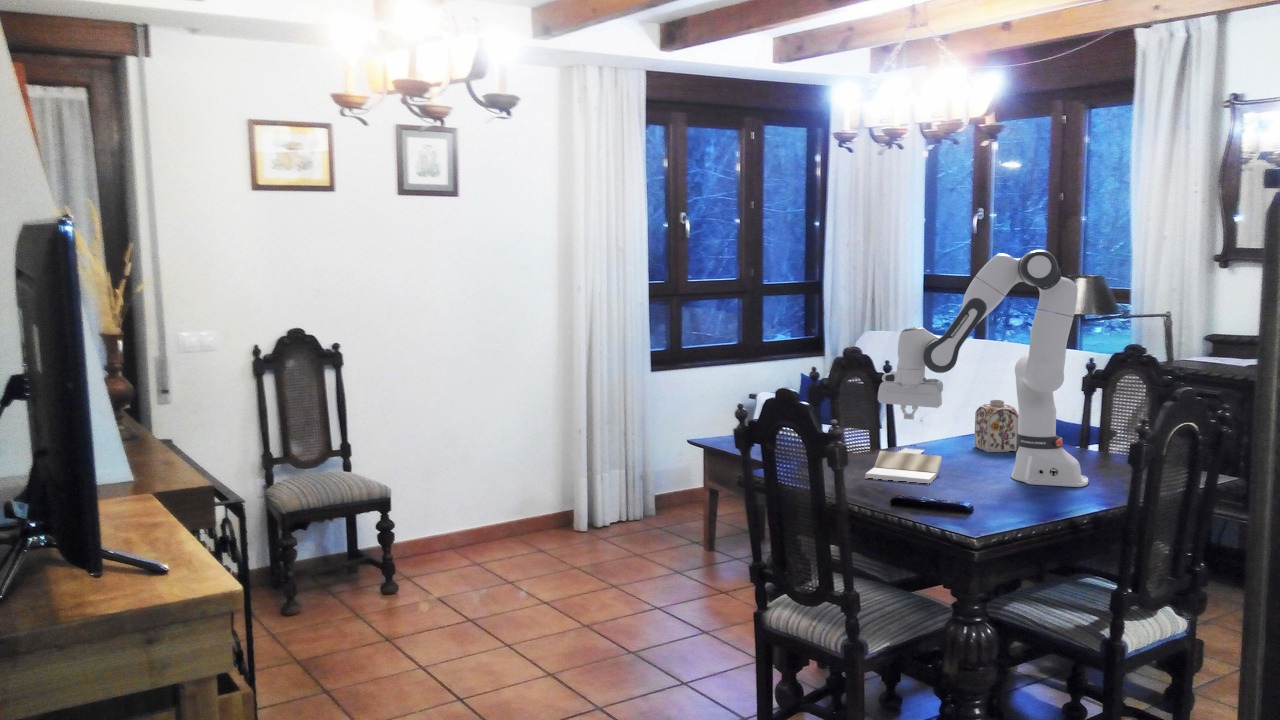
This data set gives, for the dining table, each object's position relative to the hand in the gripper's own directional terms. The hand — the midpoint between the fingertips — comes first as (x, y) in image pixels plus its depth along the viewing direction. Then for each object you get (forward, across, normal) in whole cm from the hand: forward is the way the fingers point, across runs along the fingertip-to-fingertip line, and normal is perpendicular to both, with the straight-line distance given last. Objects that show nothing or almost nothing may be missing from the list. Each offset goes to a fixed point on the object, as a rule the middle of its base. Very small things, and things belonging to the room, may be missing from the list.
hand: (908, 419), depth 336 cm
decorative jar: (+17, -20, -52) cm, 58 cm away
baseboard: (+18, +7, -21) cm, 28 cm away
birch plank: (+15, -1, +1) cm, 15 cm away
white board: (+17, -1, +11) cm, 20 cm away
